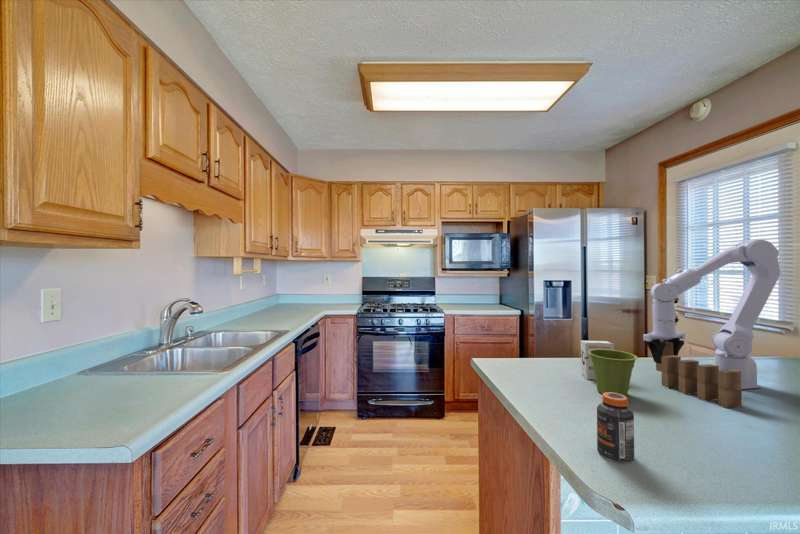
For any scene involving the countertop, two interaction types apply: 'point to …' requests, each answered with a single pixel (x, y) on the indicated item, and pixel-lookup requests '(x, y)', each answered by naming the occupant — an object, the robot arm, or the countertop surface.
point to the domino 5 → (729, 388)
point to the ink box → (586, 361)
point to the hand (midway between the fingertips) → (664, 362)
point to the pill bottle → (615, 428)
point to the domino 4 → (707, 382)
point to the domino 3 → (687, 376)
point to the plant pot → (612, 370)
